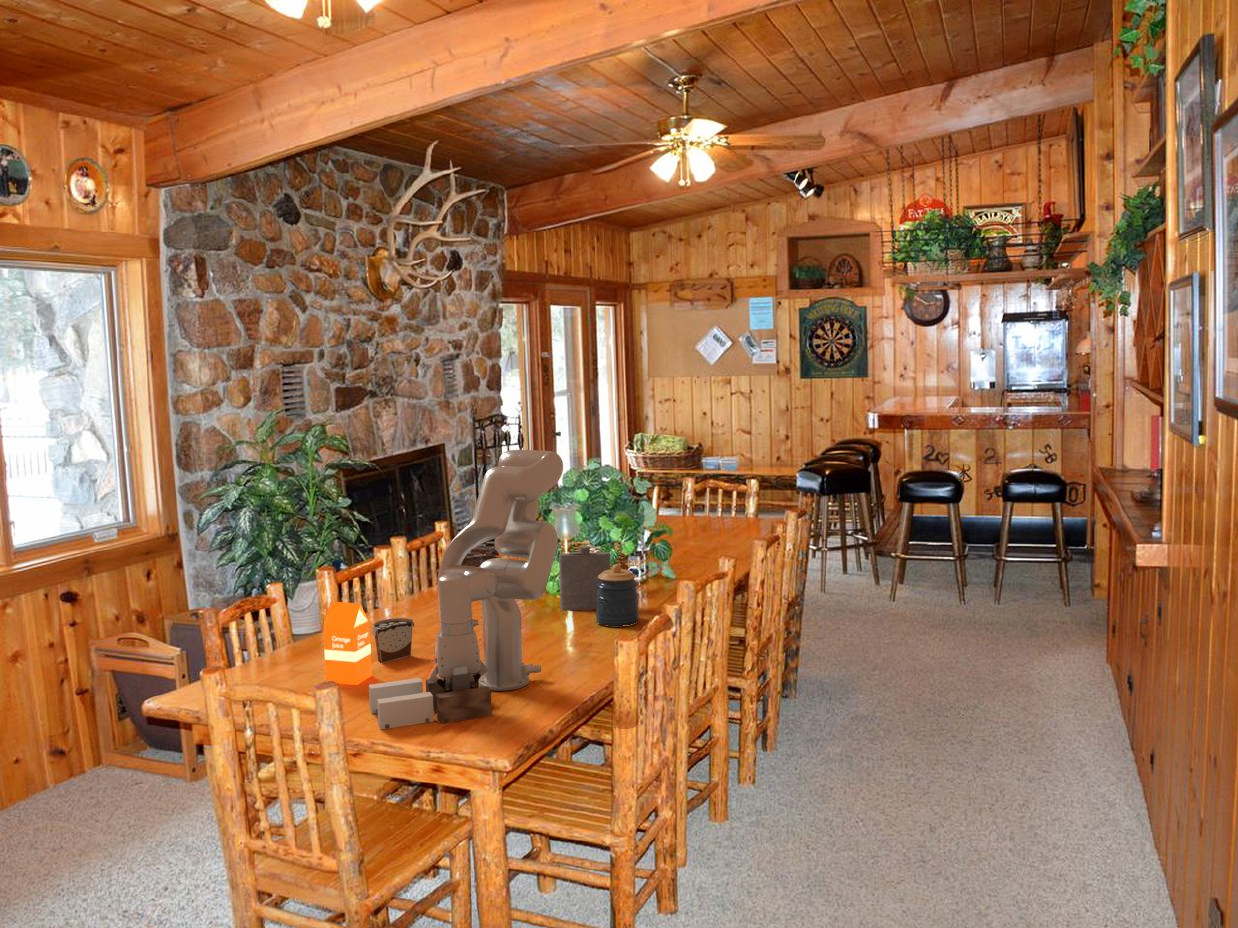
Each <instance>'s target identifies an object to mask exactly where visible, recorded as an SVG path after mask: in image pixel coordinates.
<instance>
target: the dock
mask: <svg viewBox="0 0 1238 928" xmlns="http://www.w3.org/2000/svg"><path fill="white" fill-rule="evenodd" d="M368 696H369V697H368V698H369V712H370V713H371V714H372V715H373V714H376V715H377V726H378V728H379V729H380V730H386V729H393V728H399V727H400V728H401V727H408V726H413V725H419V724H425V723H427V724H428V723H433V722H435V720H434V719H435V717H434V716H435V715H434V708H433V695H432V694H431V693H430V692H426V691H425V692H424V688H423V680H422V679H421V678H420V677H418V678H417V677H416V678H409V679H408V678H407V679H402V680H394V681H388V682H379V683H373V684H368Z"/></svg>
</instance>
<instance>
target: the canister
mask: <svg viewBox="0 0 1238 928" xmlns="http://www.w3.org/2000/svg"><path fill="white" fill-rule="evenodd" d="M598 578H599V581H597V582H596V583H595V586H596V587H597V593H596V595H595V596H596V611H595V619H596V623H597V624H598V623H599V624H601V625H600V626H602V625H608V626H623V625H631V624H634V623H636V622H638V623H639V618H640V613H639V592H638V586H639V582H638V581H637V580H636V579H635V578H636V574H635V573H633V572H632V571H631V570H630V569H629V570H628V569H624V568H621V565H620V564H616V563H615V564H613V565H612V567H611V568H610V570H605V571H603V572H602V573H601V574H599V575H598ZM599 624H598V625H599ZM636 624H637V623H636Z"/></svg>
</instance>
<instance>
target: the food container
mask: <svg viewBox="0 0 1238 928" xmlns="http://www.w3.org/2000/svg"><path fill="white" fill-rule="evenodd" d="M413 627H415V622H414V620H413V619H412V618H407V617H393V618H386V619H382V620H378V621H376V622H374V624H373V626H372V629H371V635H372V636H374V640H375V645H376V646H375V648H376V656H377V661H379V662H380V663H379V662H378V663H379V664H381V663H383V664H386V663H389V662H388V661H390V662H394V661H397V660H396V659H398V660H401V659H406V658H409V657H411V656H412V647H413V646H412V644H413V642H412V641H413ZM408 656H409V657H408ZM393 660H394V661H393ZM385 662H386V663H385Z"/></svg>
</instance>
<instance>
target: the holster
mask: <svg viewBox="0 0 1238 928" xmlns="http://www.w3.org/2000/svg"><path fill="white" fill-rule="evenodd" d="M440 678H441V677H440ZM441 679H442V680H443V678H441ZM426 692H430V693H431V694H432V695H433V709H434V708H435V709H434V710H435V712H436V719H437V721H438V723H439V724H448V723H453V722H460V721H466V720H473V718H474V719H478V718H485V717H484V716H487V717H492V716H493V715H492V714H493V712H492V710H493V709H492V690H490V689H489V688H488V687H480V686H479V680H478V681H477V682H476V683H475V686H474V689H467V690H460V691H453V692H446V693H444V688H442V687H441V686H440V685H439V684H437V683H435V682H433V681H431V680H429V678H428V679H425V693H426ZM491 715H492V716H491Z"/></svg>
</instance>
